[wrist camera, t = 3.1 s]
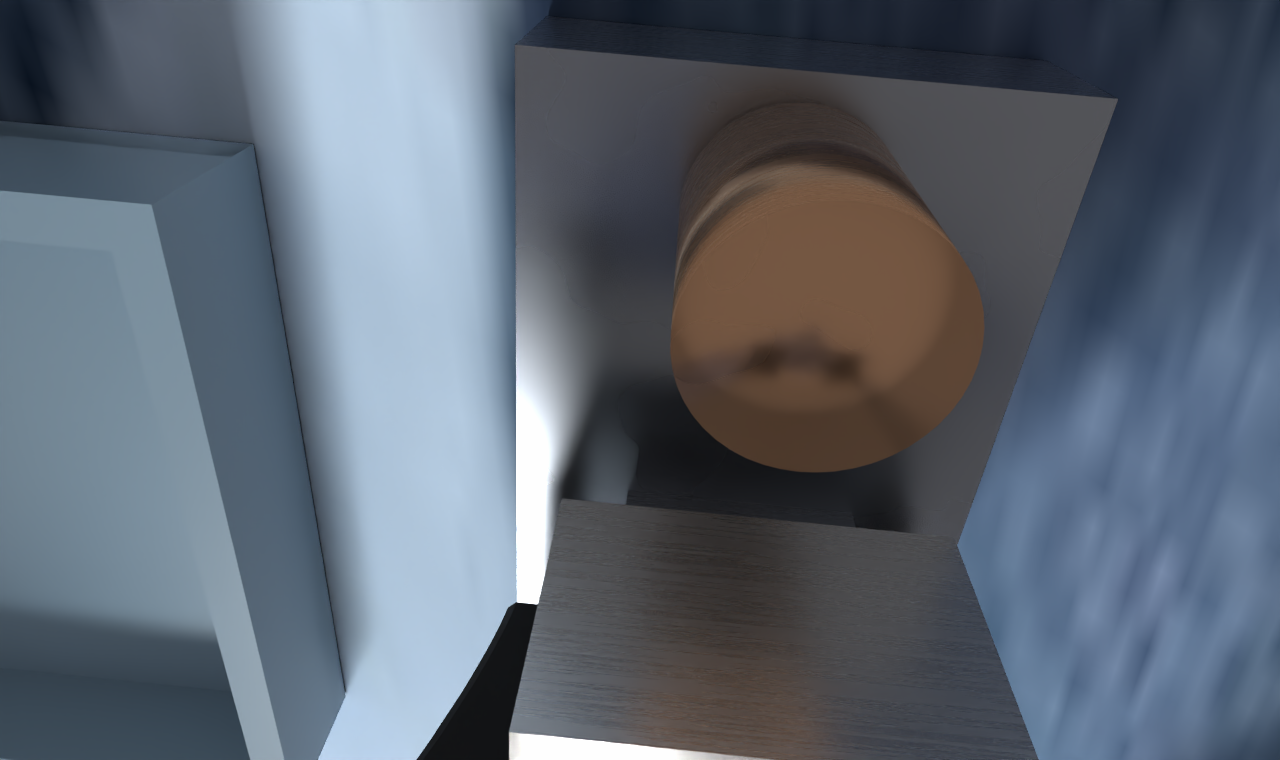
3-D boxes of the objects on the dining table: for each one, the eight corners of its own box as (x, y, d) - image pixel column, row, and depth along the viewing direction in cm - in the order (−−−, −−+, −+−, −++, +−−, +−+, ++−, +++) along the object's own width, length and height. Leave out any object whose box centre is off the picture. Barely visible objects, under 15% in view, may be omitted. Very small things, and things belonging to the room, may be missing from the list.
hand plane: (816, 802, 18) (862, 1178, 13) (536, 772, 18) (468, 1134, 13) (1046, 60, 10) (1413, 257, 5) (546, 15, 10) (385, 161, 5)
